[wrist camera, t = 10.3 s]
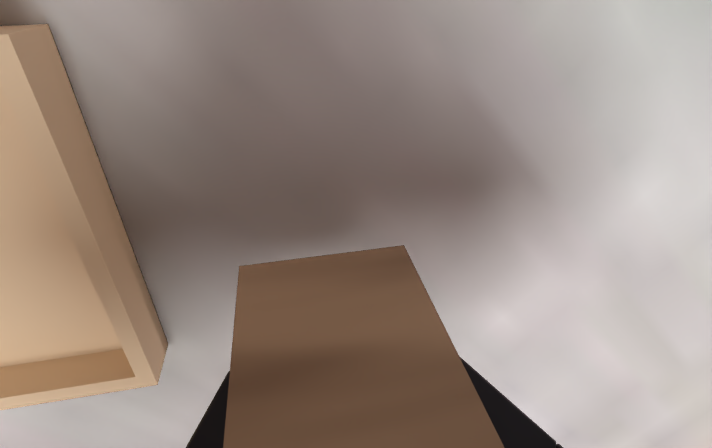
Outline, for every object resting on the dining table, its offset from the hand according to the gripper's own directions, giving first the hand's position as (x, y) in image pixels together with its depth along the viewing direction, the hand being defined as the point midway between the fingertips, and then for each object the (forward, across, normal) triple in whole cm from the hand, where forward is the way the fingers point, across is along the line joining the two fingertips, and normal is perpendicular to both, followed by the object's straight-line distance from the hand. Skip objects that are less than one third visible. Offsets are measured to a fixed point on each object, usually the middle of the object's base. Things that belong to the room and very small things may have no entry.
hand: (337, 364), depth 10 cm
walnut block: (+2, 0, 0) cm, 2 cm away
